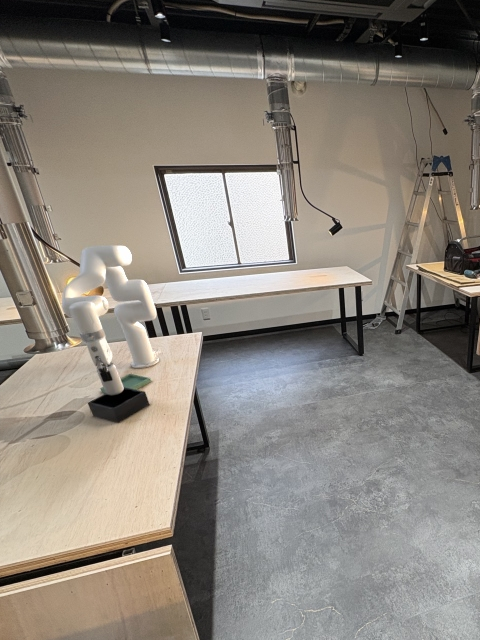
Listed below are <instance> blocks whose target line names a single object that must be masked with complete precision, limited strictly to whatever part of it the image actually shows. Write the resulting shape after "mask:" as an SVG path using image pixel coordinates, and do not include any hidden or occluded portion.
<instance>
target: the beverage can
mask: <svg viewBox="0 0 480 640" xmlns="http://www.w3.org/2000/svg"><path fill="white" fill-rule="evenodd" d="M107 366H109V367H107V368H108V371H110V374H111V376H112V379H113V380H112V381H107V382H103V380H102V378H101V375H100V373H99V370H98V368H97V367H96V373H97V375H98V378H99V380H100V383H101V385H102V387H104V390H105V392H106V393H105V394H109V395H116V394H119V393H121V392H122V391H123V390H124V387H123V384H122V382H121V379H120V378H121V377H120V373H119V372H118V369H117V367H116V365H114V363H113V362H112V363H110V364H107ZM102 367H104V368H105V366H102Z"/></svg>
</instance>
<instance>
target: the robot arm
mask: <svg viewBox="0 0 480 640" xmlns="http://www.w3.org/2000/svg"><path fill="white" fill-rule="evenodd" d="M132 261H133V258H132V253H131V251H130V250H129V248H128V247H126V246H125V245H118V244H117V245H116V244H106V245H93V246H87V247H84V248H83V249H82V250H81V253H80V262H79V270H78V275H76V276H75V277H74V278H73V279H72V280H70V282H68V284H66V286H65V287H64V289H63V291H62V297H61V298H62V299H61V307H62V311H63V313H64V315H66V316H67V317H69V318H71V319H73V322H74V324H75V327H76V329H77V331H78V334H79V336H80V338H81V342H83V343H85V345H86V348H87V350H88V353H89V355H90V358H91V361H92V363H93V365H94V366H95V367H96V369H97V368H98V370H99V373H100V375H101V378H102V380H103V382H107V381H112V380H113V379H112V376H111V374H110V371H108V368H107V367H109V366H107V364H110V363H113V362H112V360H113V355H114V354H113V352H112V350H111V347H110V345H109V344H108V341H107V339H106V337H107V336H106V333H105V330H104V327H103V326H102V322H101V320H100V317H102V316H104V315H105V314H107V313H108V312H109V308H110V304H109V301H108V300H107V299H106V298H105V297H104V296H102V295H97V294H96V295H85V294H86V293H88V292H91V291H93V290H95V289H97V288H99V287H101V286H103V285H104V284H105V285H106V286H107V289H108V291H109V294H110V296H111V298H112V299H113V300H114V301H115V302H119V304H117V305H115V307H114V308H113V314H114V317H115V318H116V320H117V323H118V324H119V326H120V328H121V330H122V334H123V335H124V338H125V341H126V344H127V347H128V349H129V352H130V356H131V359H132V362H131V363H130V366H131V367H132V368H133V369H144V368H149V367H152V366H154V365H156V364H158V362H160V360H159V357H157V356H159V355H161V354H162V353H163V352H162V350H161V349H158V350H153V348H152V345H151V342H150V339H149V336H148V333H147V330H146V328H145V327H144V326H143V324H141V323H142V322H150V321H154V320H155V319H157V315H158V313H157V308H156V306H155V303H154V299H153V296H152V294H151V291H150V289H149V288H150V287H149V286H148V284H147V283H146V282H145V280H143V279H140V278H139V279H137V278H136V279H128V278H127V275H126V274H125V271H124V269H123V267H127V266H130V265H131V264H132ZM120 302H121V303H120ZM122 302H123V303H122ZM102 366H105V368H104V367H102Z"/></svg>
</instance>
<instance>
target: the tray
mask: <svg viewBox="0 0 480 640" xmlns="http://www.w3.org/2000/svg"><path fill="white" fill-rule="evenodd" d="M120 379H121V382H122V384H123V387H125V388H130V389H135V390H138V389H140V388H142V387H144V386H146V385H148V384H150V383H151V382H152V379H151V377H147V376H144V375H143V376H142V375H137V374H134V373H129V374H127V375H125V376H122V377H120ZM99 389H100V392H101V393H104V394H106V392H105V390H104V387H103V386H102V387H100V388H99Z"/></svg>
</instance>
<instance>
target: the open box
mask: <svg viewBox="0 0 480 640" xmlns="http://www.w3.org/2000/svg"><path fill="white" fill-rule="evenodd" d="M87 405H88V407H89V410H90V412H91V415H92V417H94V418H97V419H101V420H106V421H109V422H114V423H117V424H119V423H121V422H123V421H125V420H127V419H128V418H130V417H132V416H133V415H135V414H137V413H139V412H141V411H142V410H144V409H145V408H147V407H149V406H150V405H151V404H150V401H149V399H148V396H147V393H146V391H143V390H138V389H136V390H135V389H130V388H125V387H124V390H123V391H122V392H121V393H119V394H116V395H109V394H106V393H104V394H102V395H101V396H98V397H96V398H94V399H93V400H90V401H88V402H87Z"/></svg>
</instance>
